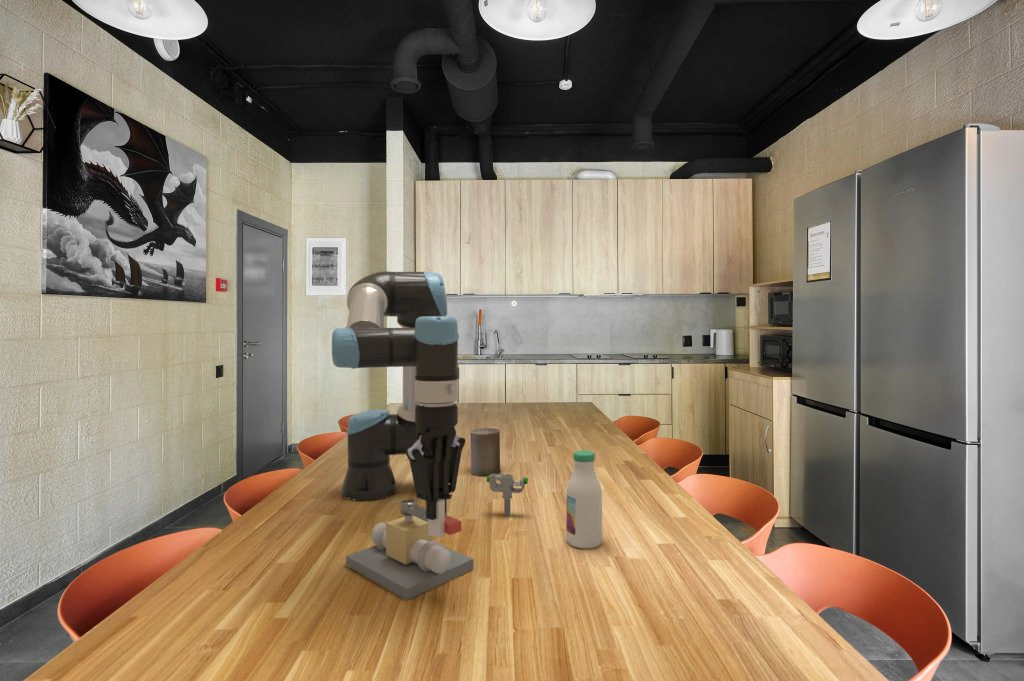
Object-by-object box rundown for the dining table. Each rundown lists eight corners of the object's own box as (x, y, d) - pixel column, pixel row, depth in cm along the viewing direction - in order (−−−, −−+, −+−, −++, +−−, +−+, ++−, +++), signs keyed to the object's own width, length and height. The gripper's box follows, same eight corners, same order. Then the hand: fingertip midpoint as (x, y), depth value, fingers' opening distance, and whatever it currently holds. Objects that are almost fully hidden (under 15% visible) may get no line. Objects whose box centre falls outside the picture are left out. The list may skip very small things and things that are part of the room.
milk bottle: (604, 537, 119) (604, 449, 118) (598, 551, 111) (598, 457, 111) (570, 533, 121) (570, 447, 121) (562, 547, 114) (562, 454, 113)
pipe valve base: (346, 565, 105) (345, 512, 105) (411, 541, 117) (410, 493, 117) (406, 600, 92) (406, 539, 92) (473, 568, 104) (473, 514, 104)
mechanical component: (526, 518, 131) (526, 478, 130) (486, 515, 133) (485, 476, 132) (528, 514, 134) (528, 475, 133) (489, 511, 136) (488, 473, 135)
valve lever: (397, 512, 104) (397, 502, 104) (411, 508, 107) (411, 498, 107) (448, 536, 92) (448, 524, 92) (462, 531, 95) (462, 520, 95)
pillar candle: (506, 470, 174) (505, 425, 174) (489, 478, 166) (488, 430, 165) (482, 467, 179) (481, 423, 179) (464, 473, 171) (463, 427, 171)
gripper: (424, 409, 86) (424, 553, 87) (476, 401, 96) (476, 529, 97) (393, 405, 91) (394, 541, 91) (447, 397, 101) (447, 520, 102)
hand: (436, 535), depth 94 cm, fingers closed
